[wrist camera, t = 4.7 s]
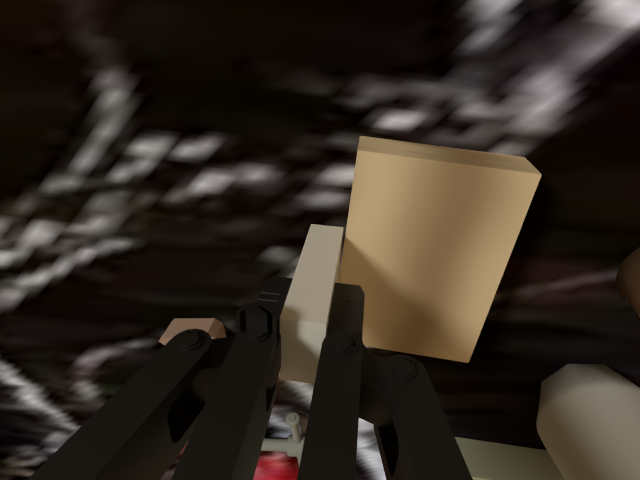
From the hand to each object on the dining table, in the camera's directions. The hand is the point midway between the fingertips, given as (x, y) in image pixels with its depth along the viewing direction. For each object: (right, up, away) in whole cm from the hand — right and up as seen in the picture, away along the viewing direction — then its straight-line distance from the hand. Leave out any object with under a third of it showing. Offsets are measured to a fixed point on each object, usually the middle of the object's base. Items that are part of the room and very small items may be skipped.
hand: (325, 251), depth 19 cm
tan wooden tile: (+4, 0, +1) cm, 5 cm away
